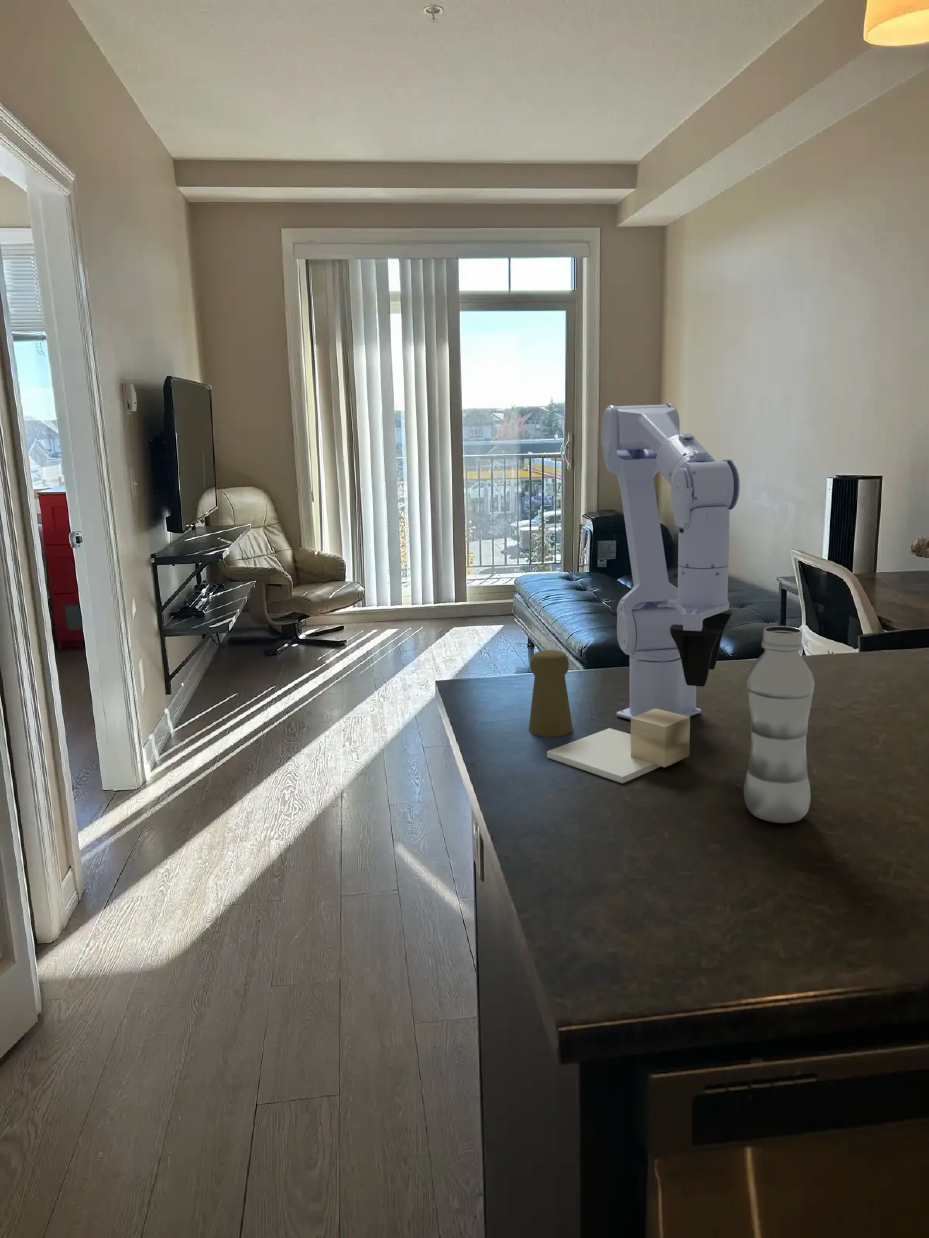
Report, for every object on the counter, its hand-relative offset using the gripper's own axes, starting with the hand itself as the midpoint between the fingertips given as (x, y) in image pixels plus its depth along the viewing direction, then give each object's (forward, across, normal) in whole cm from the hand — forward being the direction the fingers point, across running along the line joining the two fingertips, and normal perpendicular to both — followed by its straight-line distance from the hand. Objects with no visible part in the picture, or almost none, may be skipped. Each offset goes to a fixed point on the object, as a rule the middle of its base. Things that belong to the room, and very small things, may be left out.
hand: (700, 676), depth 107 cm
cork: (+11, -5, -21) cm, 24 cm away
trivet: (+10, +3, -10) cm, 15 cm away
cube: (+10, +3, -4) cm, 11 cm away
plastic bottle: (+11, +14, +10) cm, 21 cm away
